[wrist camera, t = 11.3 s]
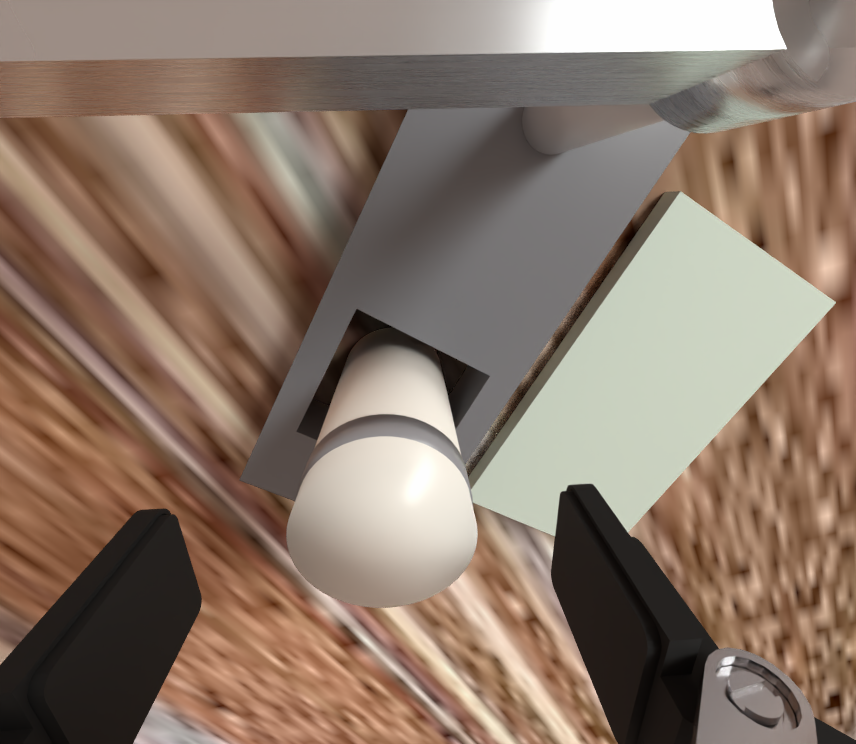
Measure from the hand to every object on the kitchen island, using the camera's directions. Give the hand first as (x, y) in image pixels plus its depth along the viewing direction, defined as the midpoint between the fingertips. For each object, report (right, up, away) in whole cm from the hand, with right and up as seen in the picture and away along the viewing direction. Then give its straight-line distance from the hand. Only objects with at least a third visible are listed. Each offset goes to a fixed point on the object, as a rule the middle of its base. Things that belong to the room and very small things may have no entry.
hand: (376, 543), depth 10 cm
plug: (0, +4, +9) cm, 10 cm away
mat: (+11, +3, +10) cm, 15 cm away
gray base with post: (+2, +7, +7) cm, 11 cm away
